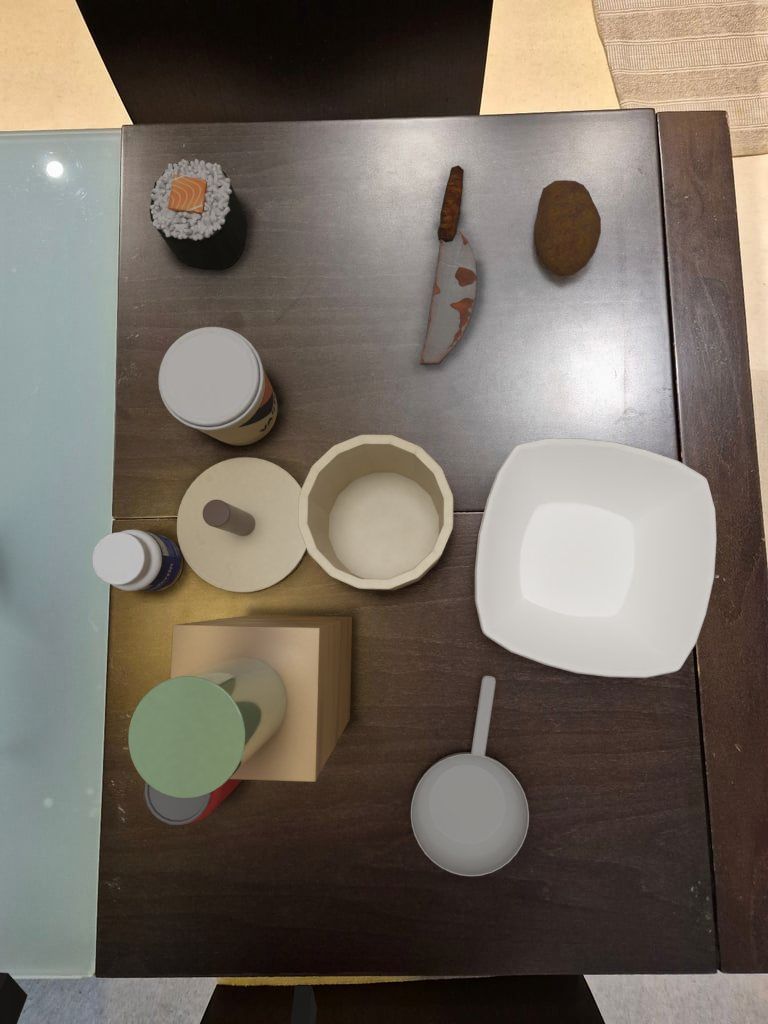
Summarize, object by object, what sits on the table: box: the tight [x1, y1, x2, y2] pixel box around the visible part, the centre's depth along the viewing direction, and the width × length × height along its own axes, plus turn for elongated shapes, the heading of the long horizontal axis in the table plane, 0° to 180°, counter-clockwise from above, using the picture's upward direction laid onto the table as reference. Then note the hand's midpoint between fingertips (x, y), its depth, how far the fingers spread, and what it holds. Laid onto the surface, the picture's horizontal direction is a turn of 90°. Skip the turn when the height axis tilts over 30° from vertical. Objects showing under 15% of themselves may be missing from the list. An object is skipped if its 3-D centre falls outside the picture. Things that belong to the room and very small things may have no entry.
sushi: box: [149, 158, 248, 271], centre depth 74 cm, size 8×8×8 cm
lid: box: [176, 456, 307, 593], centre depth 69 cm, size 14×14×11 cm
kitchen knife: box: [419, 164, 478, 365], centre depth 76 cm, size 21×2×5 cm
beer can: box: [143, 779, 242, 826], centre depth 66 cm, size 7×7×12 cm
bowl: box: [474, 437, 718, 679], centre depth 68 cm, size 21×21×9 cm
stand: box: [169, 614, 353, 783], centre depth 61 cm, size 10×10×24 cm
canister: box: [127, 656, 287, 798], centre depth 43 cm, size 6×6×12 cm
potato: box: [533, 179, 602, 279], centre depth 73 cm, size 7×10×6 cm
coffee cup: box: [158, 326, 278, 447], centre depth 70 cm, size 9×9×12 cm
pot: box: [298, 434, 454, 591], centre depth 67 cm, size 13×13×14 cm
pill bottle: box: [91, 529, 184, 592], centre depth 70 cm, size 6×6×10 cm
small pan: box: [410, 674, 530, 877], centre depth 69 cm, size 11×18×4 cm, turn 171°
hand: (157, 989), depth 33 cm, fingers open, 13 cm apart
